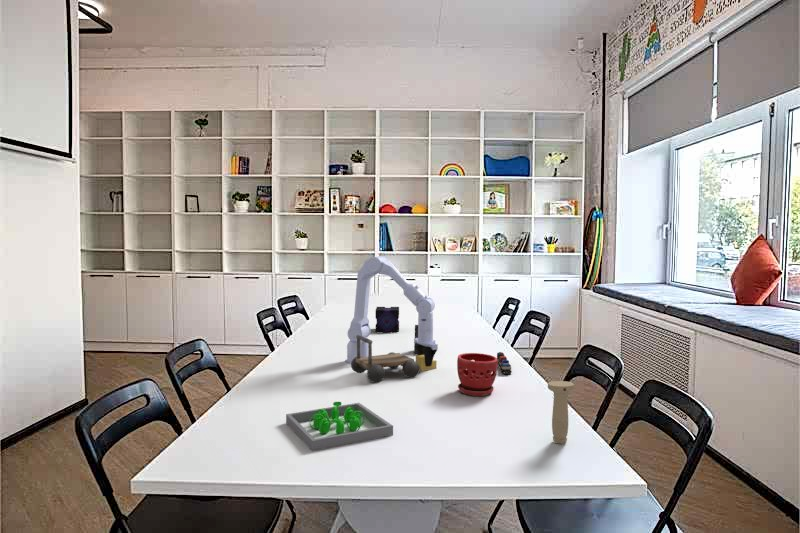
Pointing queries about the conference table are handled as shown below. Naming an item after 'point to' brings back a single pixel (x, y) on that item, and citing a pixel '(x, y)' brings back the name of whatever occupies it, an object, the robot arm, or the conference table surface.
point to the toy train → (503, 363)
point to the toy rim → (340, 439)
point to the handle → (560, 409)
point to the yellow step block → (421, 362)
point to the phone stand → (416, 337)
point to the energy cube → (387, 319)
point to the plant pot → (476, 373)
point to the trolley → (382, 363)
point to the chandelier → (337, 419)
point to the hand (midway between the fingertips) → (425, 364)
